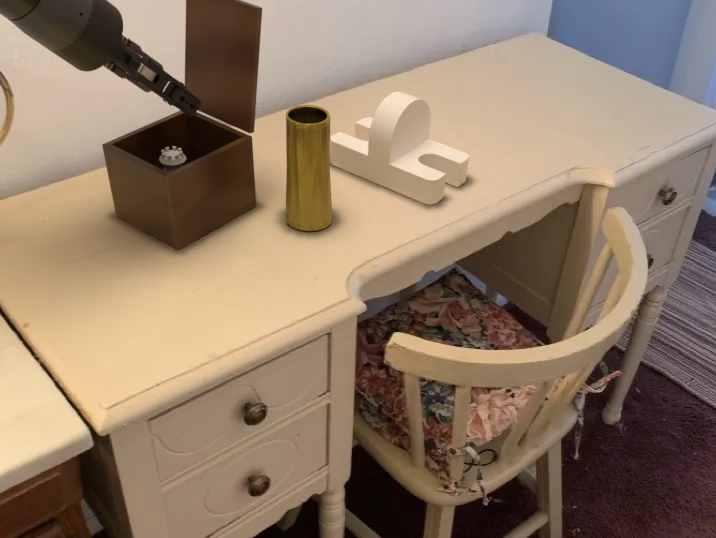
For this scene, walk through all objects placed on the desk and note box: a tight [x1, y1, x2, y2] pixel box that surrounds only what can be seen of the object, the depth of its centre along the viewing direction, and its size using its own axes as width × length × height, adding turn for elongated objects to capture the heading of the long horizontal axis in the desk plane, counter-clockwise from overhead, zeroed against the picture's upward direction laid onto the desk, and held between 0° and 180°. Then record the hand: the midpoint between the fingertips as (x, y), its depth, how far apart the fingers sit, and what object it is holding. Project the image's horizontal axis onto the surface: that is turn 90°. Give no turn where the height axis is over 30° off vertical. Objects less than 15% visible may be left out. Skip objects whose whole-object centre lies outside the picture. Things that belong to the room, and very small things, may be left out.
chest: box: [101, 110, 257, 250], centre depth 105 cm, size 14×12×10 cm
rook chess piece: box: [159, 146, 187, 173], centre depth 104 cm, size 4×4×8 cm
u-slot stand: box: [330, 90, 470, 206], centre depth 114 cm, size 10×18×11 cm, turn 54°
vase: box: [284, 104, 334, 232], centre depth 103 cm, size 6×6×14 cm
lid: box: [184, 0, 263, 134], centre depth 101 cm, size 14×12×1 cm
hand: (175, 95), depth 97 cm, fingers open, 8 cm apart
